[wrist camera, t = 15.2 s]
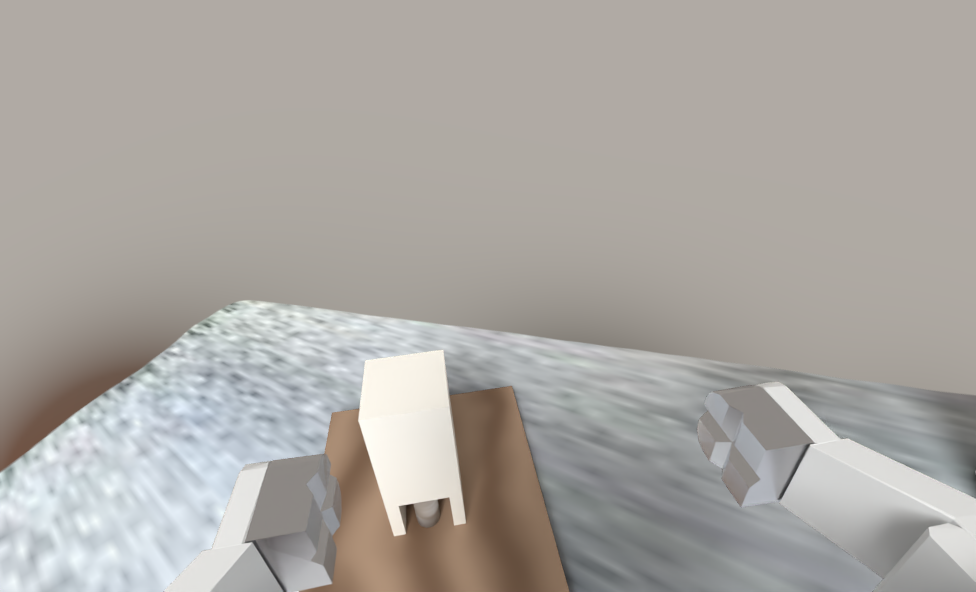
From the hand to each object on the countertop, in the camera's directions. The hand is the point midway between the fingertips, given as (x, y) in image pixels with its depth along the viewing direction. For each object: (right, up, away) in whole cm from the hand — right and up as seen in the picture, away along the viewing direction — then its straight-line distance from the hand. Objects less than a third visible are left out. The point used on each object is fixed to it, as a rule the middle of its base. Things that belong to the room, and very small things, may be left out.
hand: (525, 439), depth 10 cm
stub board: (-6, -16, +31) cm, 35 cm away
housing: (-6, -15, +30) cm, 34 cm away
